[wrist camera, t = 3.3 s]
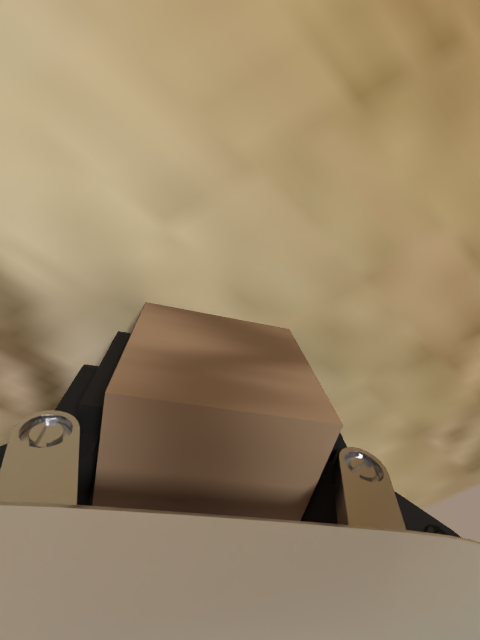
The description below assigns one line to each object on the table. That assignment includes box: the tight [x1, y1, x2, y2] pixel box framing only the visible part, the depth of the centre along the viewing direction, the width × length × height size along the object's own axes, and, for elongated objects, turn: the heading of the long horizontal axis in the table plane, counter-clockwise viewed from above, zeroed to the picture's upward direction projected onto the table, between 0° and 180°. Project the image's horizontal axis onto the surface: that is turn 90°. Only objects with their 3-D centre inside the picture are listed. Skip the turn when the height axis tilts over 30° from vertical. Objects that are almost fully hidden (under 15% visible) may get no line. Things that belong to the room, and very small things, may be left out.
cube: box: [92, 302, 343, 521], centre depth 10 cm, size 5×5×5 cm
